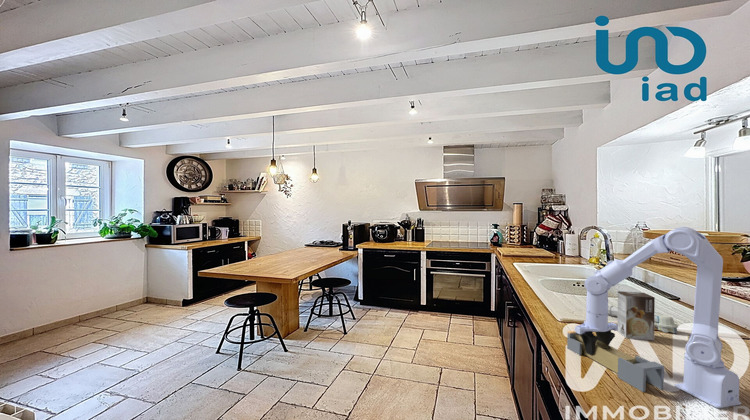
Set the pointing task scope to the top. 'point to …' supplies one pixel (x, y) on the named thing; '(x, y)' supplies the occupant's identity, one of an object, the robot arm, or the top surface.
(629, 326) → the coffee box
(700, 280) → the robot arm
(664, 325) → the pale grey bumpy piece
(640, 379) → the sleeve
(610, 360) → the tan rectangular post
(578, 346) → the socket
